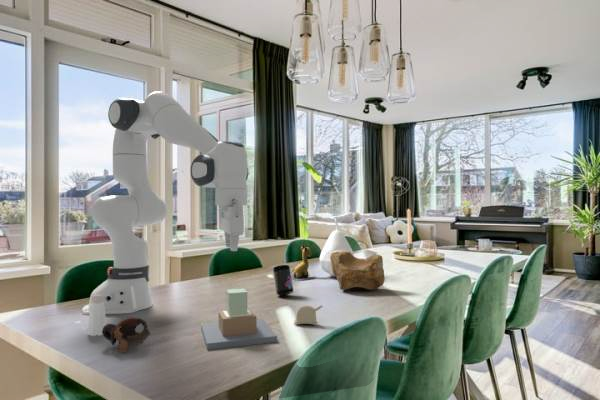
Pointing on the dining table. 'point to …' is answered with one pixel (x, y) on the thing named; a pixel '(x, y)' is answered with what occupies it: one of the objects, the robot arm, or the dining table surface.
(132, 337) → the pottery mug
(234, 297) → the sage block
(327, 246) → the pear ornament
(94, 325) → the pepper shaker
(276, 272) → the supplement container
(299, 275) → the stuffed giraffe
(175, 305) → the dining table surface
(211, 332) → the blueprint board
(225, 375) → the dining table surface
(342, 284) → the rough brown rock
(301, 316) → the decorative ornament
